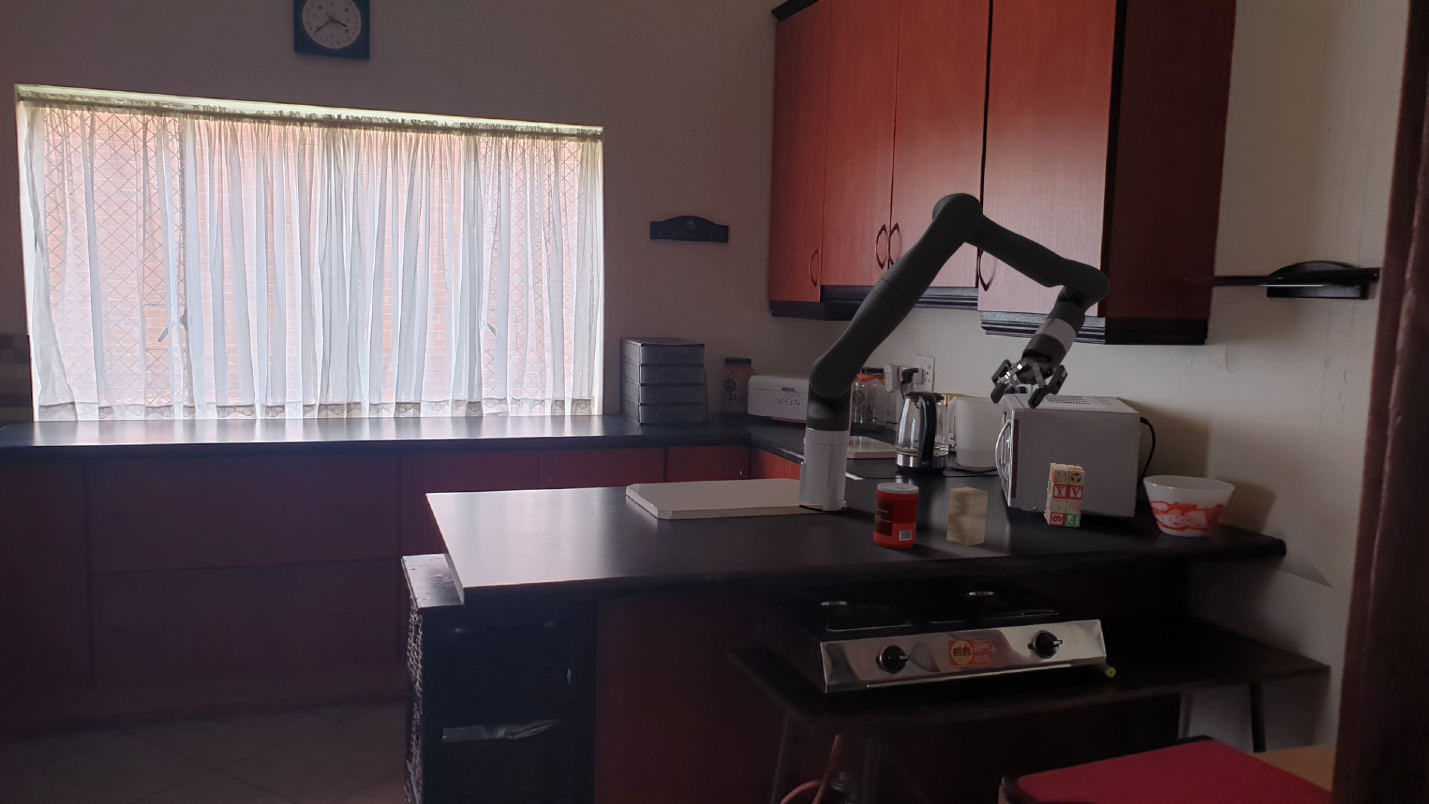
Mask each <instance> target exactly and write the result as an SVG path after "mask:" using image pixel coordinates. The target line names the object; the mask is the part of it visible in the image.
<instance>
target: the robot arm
mask: <svg viewBox="0 0 1429 804" xmlns="http://www.w3.org/2000/svg"><path fill="white" fill-rule="evenodd" d="M964 243H966V244H968V245H971V246H973V247H975V248H978V249H979V250H981V251H983V252H985V253H986V254H989V255H991V256H993V257H994V258H996V259H997V260H999V261H1001V262H1003V264H1006V265H1008V266H1009V267H1010V268H1012V269H1014V270H1015V271H1017V272H1018V273H1020V274H1021V275H1023V276H1025V277H1026V278H1028V279H1030V280H1032V281H1034V282H1036V283H1038V284H1039V285H1040V286H1042V287H1045V288H1048V289H1049V288H1055V287H1060V286H1062V288H1061V290H1060V291H1059V293H1058V294H1057V297H1056V299H1055V302H1054V306H1053V308H1052V309H1051V310H1050V312H1049V313H1048V315H1047V317H1046V318H1045V319H1044V321H1043V322H1042V324H1041V325H1040V326H1039V327H1038V328H1037V329H1036V330H1035V332H1034V334H1033V336H1032V337H1031V339H1030V340H1029V342H1027V344H1026V346H1025V347H1024V349H1023V351H1022V353H1021V358H1020V359H1019V360H1018V361H1017V362H1011V361H1010V359H1008V358H1007V359H1004V360H1003V361H1002V362H1001V364H1000V365H999V366H998V368H997V369H996V371H995V372H994V373H993V374H992V376H991V381H992V383H993V384H994V385H993V386H994V388H993V389H992V391H991V393H990V399H991V401H992V403H993V404H999V403H1000V401H1001V399H1002V398H1003V397H1004V395H1005V393H1006V391H1007V390H1009V389H1011V388H1016V387H1018V386H1020V385H1030V386H1036V385H1037V386H1038V388H1035V389H1034V390H1033V392H1032V394H1031V395H1030V397H1029V399H1028V400H1027V404H1028V407H1029V408H1030V409H1031V410H1035V409H1037V408H1038V407H1039V406H1040V405H1041V403H1042V401H1043V400H1044V398H1045V397H1047V396H1049V395H1052V396H1056V395H1058V394H1059V392H1060V390H1061V388H1062V386H1063V384H1064V382H1065V381H1066V380H1067V379H1066V378H1068V372H1067V370H1066V367H1065V365H1064V364H1062V362H1063V361H1064V359H1065V358H1066V356H1067V354H1068V353H1069V351H1070V350H1071V347H1072V346H1073V344H1074V341H1075V340H1076V338H1077V336H1078V334H1079V333H1080V332H1081V330H1082V328H1083V327H1084V324H1085V322H1086V312H1087V311H1088V310H1089V309H1090V308H1091V307H1093V306H1094V305H1096V304H1097V303H1099V302H1100V301H1102V300H1103V299H1105V298H1106V297H1107V296H1108V295H1109V293H1110V291H1111V284H1110V283H1111V282H1110V280H1109V278H1108V276H1107V275H1106V274H1105V273H1104V272H1103V271H1102V270H1100V269H1099V268H1097V267H1096V266H1093V265H1090V264H1088V263H1084V262H1080V261H1077V260H1074V259H1069V258H1066V257H1063V256H1061V255H1059V254H1058V253H1056V252H1055V251H1053V250H1052V249H1050V248H1048V247H1046V246H1044V245H1042V243H1041V244H1040V243H1039V242H1037V241H1034V240H1032V239H1031V238H1027V237H1026V236H1024V235H1022V234H1019V233H1016V232H1015V231H1012V230H1010V229H1008V228H1006V227H1004V226H1002V225H1000V224H999V223H997V222H996V221H994V220H992V219H990V218H989V217H988V216H986V215H985V214H984V210H983V206H982V204H981V202H980V200H979V199H978V198H977V197H976V196H975V195H973V194H970V193H967V192H955V193H951V194H948V195H945V196H943V197H941V198H940V199H939V200H937V202H936V203H935V204H934V206H933V208H932V212H931V222H930V224H929V225H928V227H927V228H926V230H925V231H924V233H923V234H922V236H920V237H919V239H918V241H917V242H916V243H915V244H914V245H913V246H911V248H909V249H908V250H907V251H906V252H905V253H904V254H902V255H901V257H899V258H898V259H897V260H896V261H895V262H894V263H893V264H892V265H891V266H890V267H889V268H888V269H887V270H886V271H885V272H884V273H883V274H882V276H881V277H880V278H879V279H878V280H877V282H876V283H875V285H873V287H872V288H871V289H870V291H869V292H868V294H867V295H866V297H865V298H864V300H863V301H862V302H861V304H860V306H859V307H858V309H857V310H856V312H855V314H854V316H853V317H852V318H851V321H850V323H849V324H848V326H847V327H846V329H845V330H844V332H843V333H842V334H841V336H840V337H838V338H837V340H836V341H835V342H834V343H833V344H832V345H831V346H830V347H829V349H828V350H827V351H825V353H823V354H822V355H819V357H817V358H816V359H814V361H813V363H812V364H811V366H810V368H809V374H808V375H809V376H808V388H807V389H808V390H807V392H808V393H807V405H806V417H805V418H806V419H805V421H806V423H805V435H804V437H805V438H804V454H803V461H802V462H801V463H800V473H799V488H798V500H799V501H806V502H808V503H810V504H819V505H822V506H824V507H823V508H824V510H823V511H833V512H835V511H839V510H840V511H841V510H843V509H842V506H843V507H844V505H843V504H845V503H844V502H845V489H846V477H847V476H846V475H847V460H848V446H849V445H848V443H849V430H850V418H851V417H850V415H851V398H852V384H853V382H854V381H855V379H856V377H857V376H858V374H859V373H860V371H861V370H862V368H863V367H864V365H865V364H866V362H867V361H868V360H869V358H870V357H871V355H872V354H873V353H874V352H875V350H876V349H878V347H879V346H880V345H881V344H882V343H883V342H884V341H885V340H886V339H887V338H888V337H889V336H890V335H891V334H892V333H893V332H894V331H895V330H896V329H897V328H898V326H899V325H900V324H901V323H902V322H903V320H905V318H906V317H907V316H908V315H909V313H911V311H912V310H913V308H914V307H915V306H916V305H917V303H918V302H919V301H920V300H921V298H922V297H923V295H924V294H925V293H926V291H927V290H928V288H929V287H930V286H931V285H932V283H933V282H934V280H935V279H936V277H937V276H938V274H939V273H940V271H941V270H942V269H943V267H944V265H945V264H946V263H947V262H948V261H949V259H950V258H951V257H952V256H953V255H954V254H955V253H956V252H957V251H958V250H959V249H960V248H961V247H962V246H963V245H964ZM1014 376H1016V379H1015V378H1014ZM1049 378H1051V379H1050V380H1049V382H1048V384H1047V381H1046V380H1048V379H1049ZM1006 382H1007V383H1006Z"/></svg>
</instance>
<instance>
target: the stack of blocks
mask: <svg viewBox="0 0 1429 804" xmlns="http://www.w3.org/2000/svg"><path fill="white" fill-rule="evenodd" d="M1050 465H1051V466H1050V473H1049V474H1050V475H1049V481H1048V488H1047V492H1048V493H1047V502H1046V510H1045V513H1044V515H1043V516H1044V518H1045V520H1046V522H1047V524H1048V525H1049V526H1058V527H1068V528H1069V527H1070V528H1077V527H1079V528H1080V524H1081V523H1080V522H1081V516H1082V514H1081V511H1082V504H1083V503H1082V502H1083V498H1084V487H1085V479H1086V471H1084V469H1083V467H1081V466H1080V465H1079V466H1074V465H1065V464H1056V463H1050Z"/></svg>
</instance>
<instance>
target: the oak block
mask: <svg viewBox="0 0 1429 804" xmlns="http://www.w3.org/2000/svg"><path fill="white" fill-rule="evenodd" d="M988 499H989V491H988V490H981V489H978V488H973V487H969V486H963V487H956V488H955V487H954V488H950V494H949V507H948V517H947V532H946V541H950V542H954V543H956V544H960V545H965V546H968V547H969V546H974V545H978V544H983V543H984V542H985V536H986V535H985V532H986V520H987V511H988Z"/></svg>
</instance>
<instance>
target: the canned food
mask: <svg viewBox="0 0 1429 804" xmlns="http://www.w3.org/2000/svg"><path fill="white" fill-rule="evenodd" d="M919 496H920V488H919V486H917V485H914V484H910V483H905V482H881V483H878V484H877V488H876V500H875V510H874V511H875V512H874V513H875V514H874V527H873V542H874V544H876V545H877V546H879V547H883V548H887V549H888V548H889V549H896V550H900V549H901V550H903V549H905V548H906V549H910V548H913V547H914V545H915V542H916V533H917V521H918V512H919V511H918V510H919V509H918V508H919V498H920V497H919ZM906 549H905V550H906Z"/></svg>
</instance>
